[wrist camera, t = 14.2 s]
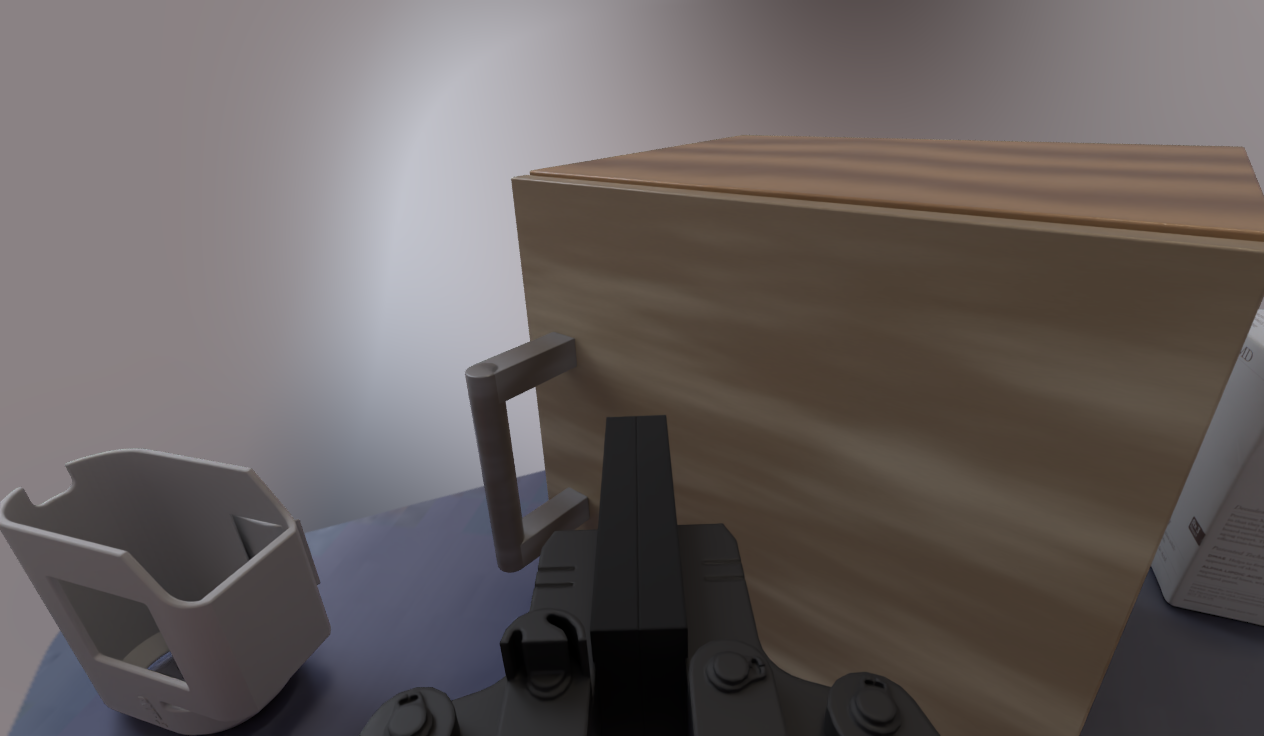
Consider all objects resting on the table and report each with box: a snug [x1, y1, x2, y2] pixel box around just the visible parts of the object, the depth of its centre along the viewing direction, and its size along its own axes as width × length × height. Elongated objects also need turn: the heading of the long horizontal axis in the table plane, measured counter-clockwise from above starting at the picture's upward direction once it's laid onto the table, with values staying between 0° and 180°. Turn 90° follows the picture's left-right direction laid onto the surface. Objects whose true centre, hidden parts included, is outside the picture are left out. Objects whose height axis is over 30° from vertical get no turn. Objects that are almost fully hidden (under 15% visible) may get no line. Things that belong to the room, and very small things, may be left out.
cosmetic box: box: [1151, 309, 1264, 626], centre depth 32 cm, size 8×6×15 cm
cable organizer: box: [0, 448, 331, 735], centre depth 29 cm, size 7×12×12 cm, turn 72°
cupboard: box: [530, 135, 1264, 242], centre depth 31 cm, size 18×24×24 cm
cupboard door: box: [465, 175, 1264, 736], centre depth 23 cm, size 6×24×23 cm, turn 50°
